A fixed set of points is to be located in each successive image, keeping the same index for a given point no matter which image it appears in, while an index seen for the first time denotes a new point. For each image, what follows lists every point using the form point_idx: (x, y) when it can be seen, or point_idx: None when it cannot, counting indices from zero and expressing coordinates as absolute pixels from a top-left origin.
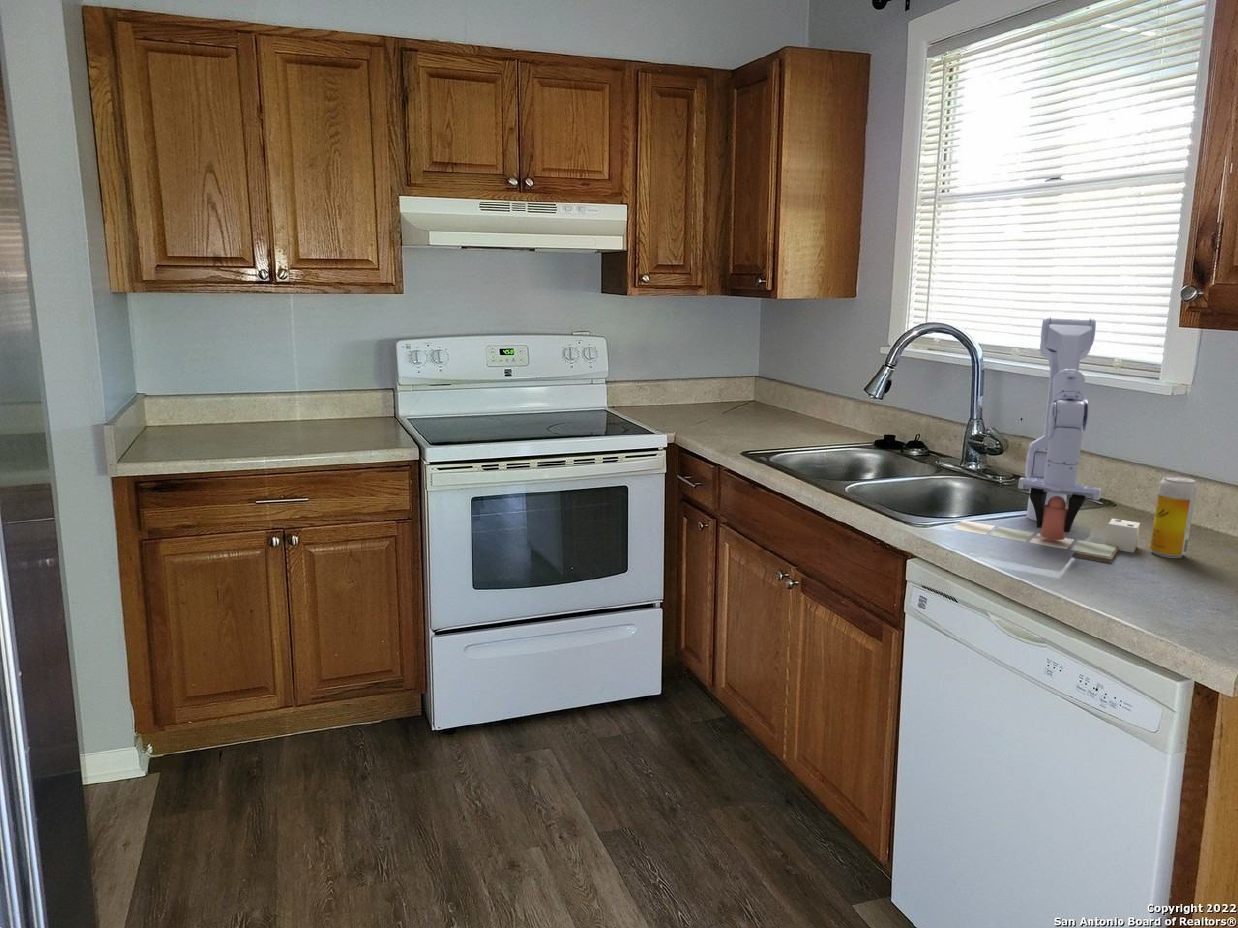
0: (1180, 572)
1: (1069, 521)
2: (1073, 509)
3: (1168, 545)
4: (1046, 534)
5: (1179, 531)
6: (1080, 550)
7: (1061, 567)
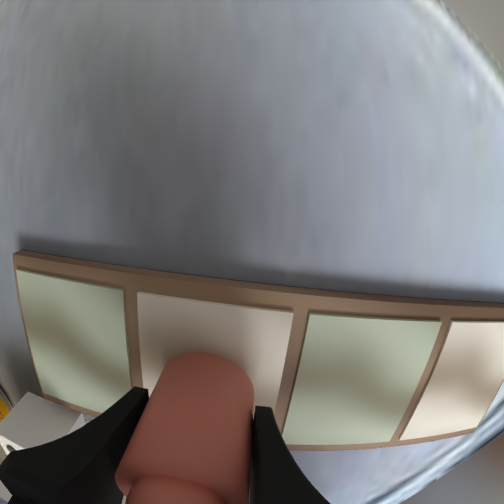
0: None
1: (111, 414)
2: (64, 449)
3: None
4: (224, 369)
5: None
6: (94, 301)
7: (142, 73)
